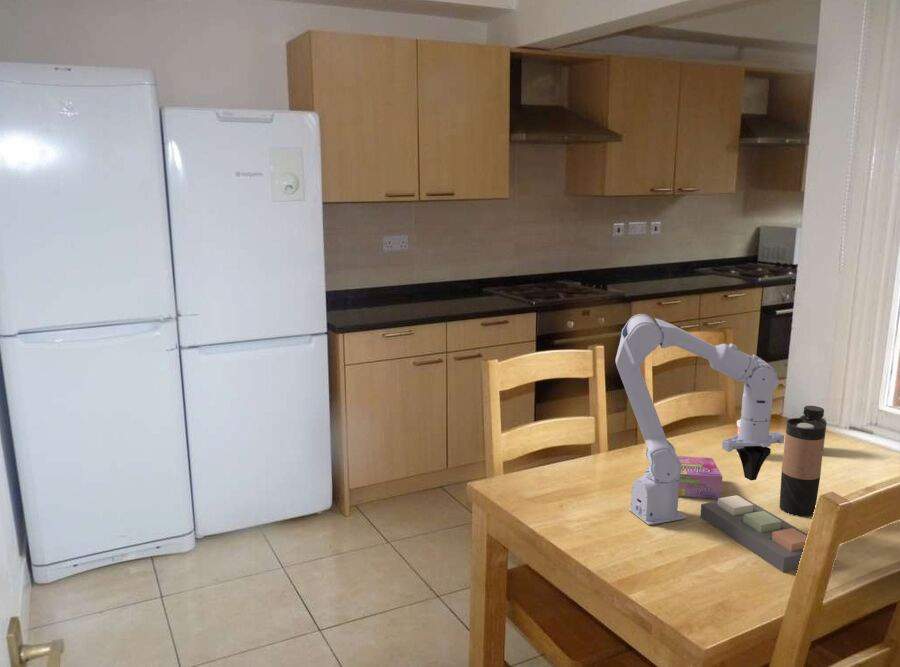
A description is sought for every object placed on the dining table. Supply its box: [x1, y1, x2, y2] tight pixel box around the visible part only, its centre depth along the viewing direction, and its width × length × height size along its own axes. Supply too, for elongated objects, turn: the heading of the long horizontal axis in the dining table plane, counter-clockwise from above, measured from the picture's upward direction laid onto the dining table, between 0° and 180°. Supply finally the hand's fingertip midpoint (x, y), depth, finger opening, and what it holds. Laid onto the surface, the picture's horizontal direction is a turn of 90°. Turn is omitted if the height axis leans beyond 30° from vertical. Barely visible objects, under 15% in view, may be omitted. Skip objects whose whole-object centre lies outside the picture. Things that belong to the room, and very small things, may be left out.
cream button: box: [717, 494, 753, 516], centre depth 156 cm, size 5×5×2 cm
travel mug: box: [779, 417, 826, 517], centre depth 160 cm, size 8×8×20 cm
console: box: [700, 496, 807, 573], centre depth 149 cm, size 11×24×3 cm, turn 19°
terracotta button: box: [772, 528, 807, 552], centre depth 141 cm, size 5×5×2 cm
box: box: [677, 455, 723, 500], centre depth 173 cm, size 10×6×12 cm
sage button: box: [743, 511, 782, 533], centre depth 149 cm, size 5×5×2 cm
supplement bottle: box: [799, 405, 828, 449], centre depth 196 cm, size 7×7×12 cm
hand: (750, 478), depth 156 cm, fingers closed
